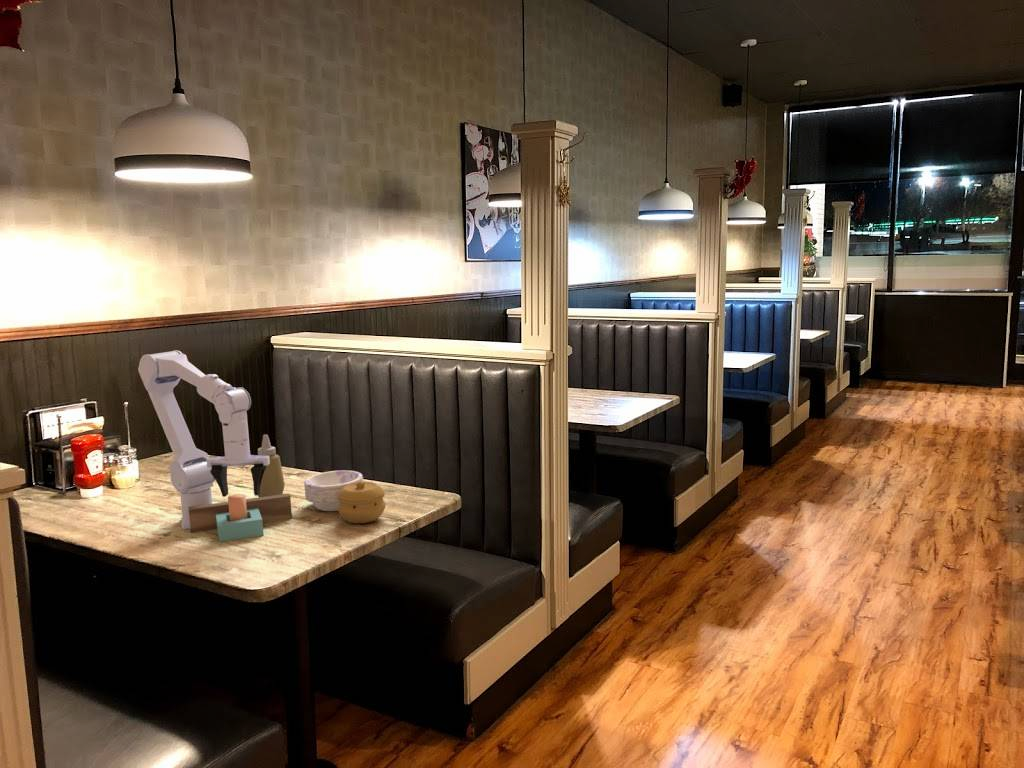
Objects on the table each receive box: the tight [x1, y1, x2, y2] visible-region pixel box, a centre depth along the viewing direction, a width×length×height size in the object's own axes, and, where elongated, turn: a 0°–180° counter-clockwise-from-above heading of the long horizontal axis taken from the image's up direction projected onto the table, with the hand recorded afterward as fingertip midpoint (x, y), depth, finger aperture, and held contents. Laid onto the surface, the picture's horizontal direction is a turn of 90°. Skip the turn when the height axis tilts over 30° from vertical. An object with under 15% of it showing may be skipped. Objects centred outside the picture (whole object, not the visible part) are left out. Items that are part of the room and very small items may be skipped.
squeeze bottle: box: [257, 434, 286, 498], centre depth 228 cm, size 8×8×18 cm
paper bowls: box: [303, 469, 364, 512], centre depth 221 cm, size 15×15×8 cm
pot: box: [337, 481, 387, 524], centre depth 208 cm, size 12×12×10 cm
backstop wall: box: [188, 493, 293, 534], centre depth 208 cm, size 2×24×6 cm, turn 112°
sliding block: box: [216, 508, 264, 543], centre depth 202 cm, size 10×10×4 cm
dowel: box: [227, 493, 248, 521], centre depth 202 cm, size 4×4×8 cm
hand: (241, 495), depth 201 cm, fingers open, 7 cm apart
